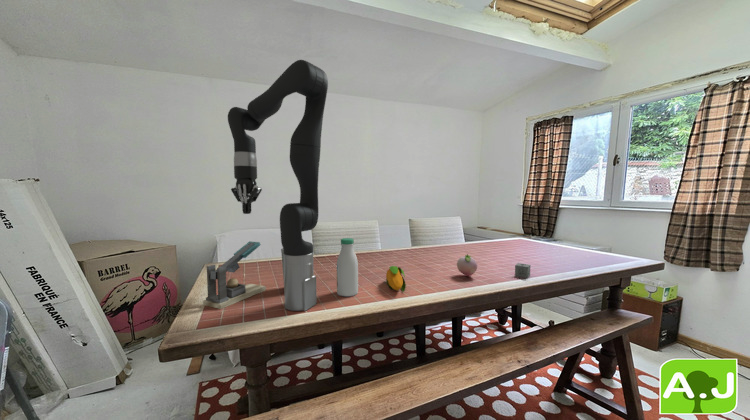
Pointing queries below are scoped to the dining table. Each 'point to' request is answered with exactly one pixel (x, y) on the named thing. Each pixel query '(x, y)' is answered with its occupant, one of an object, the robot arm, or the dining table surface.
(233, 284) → the nut
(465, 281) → the dining table surface
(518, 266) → the grey cube
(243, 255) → the lever
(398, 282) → the corn
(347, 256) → the milk bottle
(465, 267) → the decorative fruit
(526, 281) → the dining table surface
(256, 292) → the cracker base
